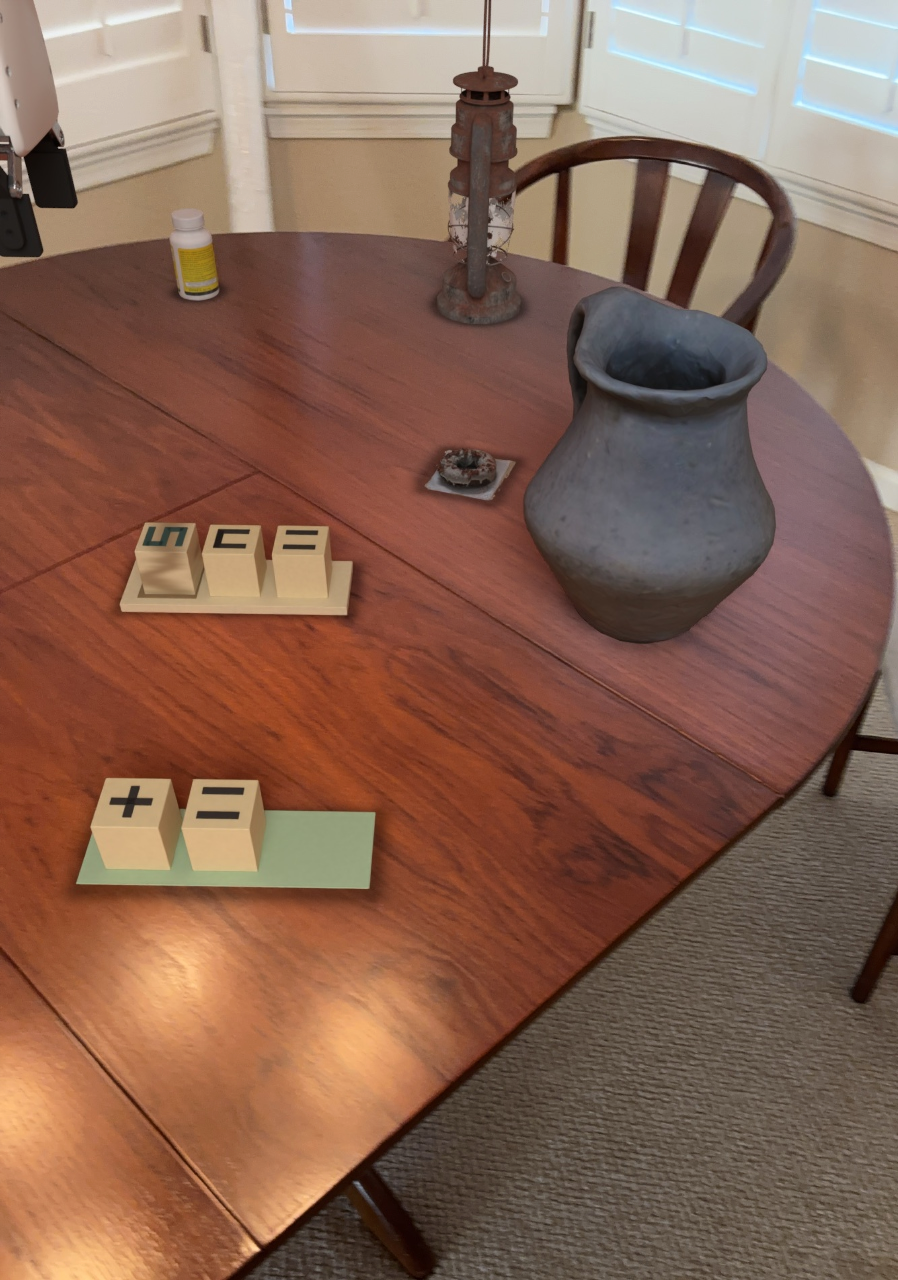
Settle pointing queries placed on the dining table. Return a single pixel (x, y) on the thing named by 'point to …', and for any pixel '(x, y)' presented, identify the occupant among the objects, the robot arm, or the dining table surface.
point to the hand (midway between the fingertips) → (40, 230)
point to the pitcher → (652, 468)
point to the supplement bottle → (193, 255)
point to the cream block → (169, 558)
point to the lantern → (482, 196)
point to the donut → (470, 473)
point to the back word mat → (257, 576)
